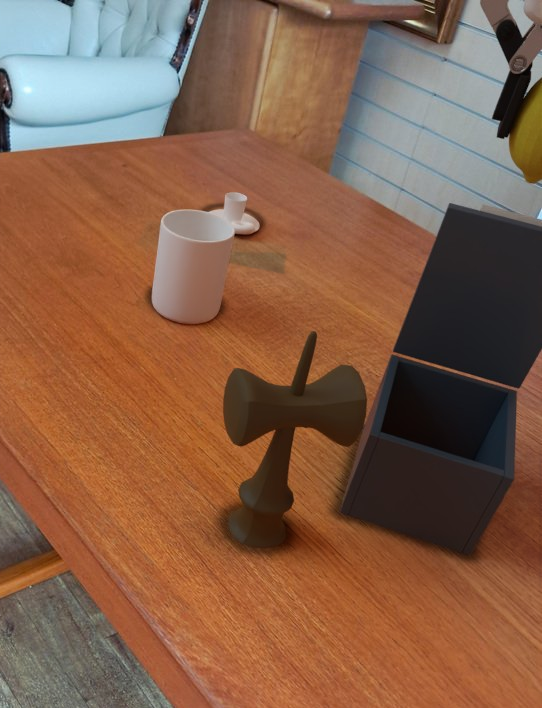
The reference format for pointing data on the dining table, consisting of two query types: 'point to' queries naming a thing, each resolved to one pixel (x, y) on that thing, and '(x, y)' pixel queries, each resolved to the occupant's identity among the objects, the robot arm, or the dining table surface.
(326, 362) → the dining table surface
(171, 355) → the dining table surface
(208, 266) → the mug
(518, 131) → the lemon
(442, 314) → the lid
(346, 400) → the kendama
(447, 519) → the chest
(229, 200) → the teacup and saucer
